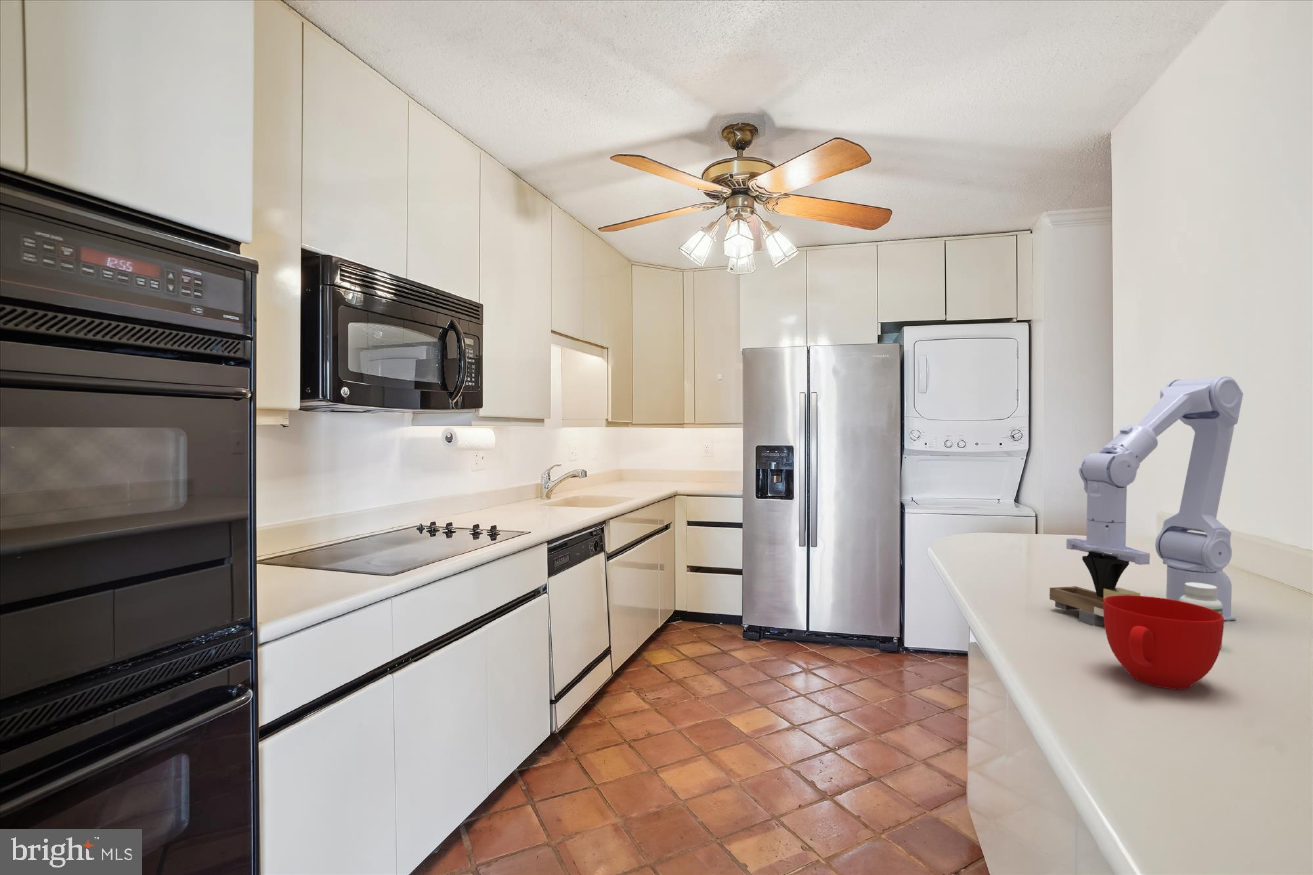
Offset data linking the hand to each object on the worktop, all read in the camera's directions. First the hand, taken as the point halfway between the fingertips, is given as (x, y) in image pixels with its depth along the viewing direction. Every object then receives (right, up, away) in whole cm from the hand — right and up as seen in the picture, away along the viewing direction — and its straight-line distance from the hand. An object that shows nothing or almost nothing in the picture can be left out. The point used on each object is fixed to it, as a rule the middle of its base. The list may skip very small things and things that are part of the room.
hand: (1104, 596), depth 113 cm
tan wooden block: (+1, -1, -3) cm, 3 cm away
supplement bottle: (+7, -5, -11) cm, 14 cm away
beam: (0, -5, 0) cm, 5 cm away
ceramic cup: (-12, -5, -27) cm, 30 cm away
